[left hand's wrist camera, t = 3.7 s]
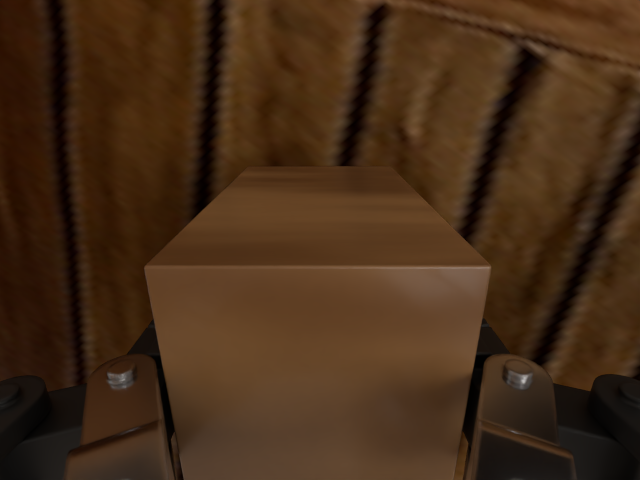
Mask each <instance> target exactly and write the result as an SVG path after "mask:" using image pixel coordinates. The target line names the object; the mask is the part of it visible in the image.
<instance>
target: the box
mask: <svg viewBox="0 0 640 480" xmlns="http://www.w3.org/2000/svg"><path fill="white" fill-rule="evenodd" d="M144 271H145V276H146V281H147V287H148V292H149V297H150V303H151V308H152V313H153V318H154V324H155V329H156V334H157V340H158V345H159V350H160V355H161V361H162V366H163V371H164V377H165V382H166V387H167V393H168V398H169V403H170V408H171V414H172V419H173V424H174V430H175V435H176V440H177V445H178V451H179V456H180V461H181V467H182V472H183V477H184V480H453V478H454V472H455V467H456V461H457V456H458V450H459V445H460V439H461V433H462V428H463V422H464V417H465V411H466V406H467V400H468V395H469V389H470V384H471V378H472V373H473V367H474V362H475V356H476V351H477V345H478V340H479V334H480V329H481V323H482V318H483V312H484V306H485V301H486V295H487V290H488V284H489V279H490V273H491V265H490V264H489V263H488V262H487V261H486V260H485V259H484V258H483V257H482V256H481V255H480V254H479V253H478V252H477V251H476V250H475V249H474V248H473V247H472V246H471V245H470V244H469V243H468V242H466V241H465V240H464V239H463V238H462V237H461V236H460V235H459V234H458V233H457V232H456V231H455V230H454V229H453V228H452V227H451V226H450V225H449V224H448V223H447V222H446V221H445V220H444V219H443V218H442V217H441V216H440V215H439V214H438V213H437V212H436V211H435V210H434V209H433V208H432V207H431V206H430V205H429V204H428V203H427V202H426V201H425V200H424V199H423V198H422V197H421V196H420V195H419V194H418V193H417V192H416V191H415V190H414V189H413V188H412V187H411V186H410V185H409V184H408V183H407V182H406V181H405V180H404V179H403V178H402V177H401V176H400V175H399V174H398V173H397V172H396V171H395V170H394V169H393V168H392V167H390V166H248V167H247V168H246V169H245V170H244V171H243V172H242V173H241V174H240V175H239V176H238V177H237V178H236V179H234V180H233V181H232V182H231V183H230V184H229V185H228V186H227V187H226V188H225V189H224V190H223V191H222V192H221V193H220V194H219V195H218V196H217V197H216V198H215V199H214V200H213V201H212V202H211V203H210V204H208V205H207V206H206V207H205V208H204V209H203V210H202V211H201V212H200V213H199V214H198V215H197V216H196V217H195V218H194V219H193V220H192V221H191V222H190V223H189V224H188V225H187V226H186V227H185V228H184V229H183V230H181V231H180V232H179V233H178V234H177V235H176V236H175V237H174V238H173V239H172V240H171V241H170V242H169V243H168V244H167V245H166V246H165V247H164V248H163V249H162V250H161V251H160V252H159V253H158V254H157V255H155V256H154V257H153V258H152V259H151V260H150V261H149V262H148V263H147V264H146V265H145V267H144Z"/></svg>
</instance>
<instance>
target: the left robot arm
mask: <svg viewBox="0 0 640 480" xmlns="http://www.w3.org/2000/svg"><path fill="white" fill-rule="evenodd" d="M462 431H463V432H464V434H465V436H466V439H467V441H468V443H469V444H468V449H467V455H466V462H465V468H464V475H463V480H640V381H638V380H636V379H633V378H630V377H626V376H621V375H614V374H606V375H601V376H598V377H597V378H596V379H595V380H594V382H593V385H592V388H591V391H586V390H581V389H577V388H572V387H567V386H563V385H558V384H554V383H553V381H552V379H551V377H550V375H549V374H548V373H547V372H546V371H545V370H544V369H543V368H542V367H540V366H539V365H538V364H536V363H534V362H532V361H530V360H528V359H526V358H523V357H520V356H517V355H512V354H510V353H509V351H508V350H507V349H506V347H505V346H504V344H503V343H502V342H501V340H500V339H499V338H498V336H497V335H496V334H495V332H494V331H493V330H492V328H491V327H489V324H488V323H487V321H486V320H485V319H483V318H482V323H481V329H480V334H479V340H478V345H477V351H476V356H475V362H474V367H473V373H472V378H471V384H470V389H469V395H468V400H467V406H466V411H465V417H464V422H463V428H462ZM174 432H175V430H174V424H173V419H172V414H171V408H170V403H169V398H168V393H167V387H166V382H165V377H164V371H163V366H162V361H161V355H160V350H159V345H158V340H157V334H156V329H155V324H154V319H153V320H152V321H151V323H150V324H149V326H148V328H146V330H145V331H144V332H143V334H142V335H141V336H140V338H139V339H138V340H137V342H136V343H135V344H134V346H133V347H132V348H131V350H130V351H129V352H128V354H127V355H123V356H120V357H117V358H114V359H112V360H110V361H108V362H106V363H104V364H102V365H101V366H100V367H98V368H97V369H96V370H95V371H94V372H93V373H92V374H91V375H90V377H89V379H88V381H87V383H86V384H82V385H78V386H73V387H69V388H64V389H60V390H55V391H50V392H48V391H47V388H46V385H45V382H44V381H43V379H41V378H40V377H37V376H29V375H27V376H18V377H13V378H10V379H6V380H3V381H1V382H0V480H177V475H176V468H175V462H174V455H173V449H172V444H171V438H172V435H173V433H174Z"/></svg>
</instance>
